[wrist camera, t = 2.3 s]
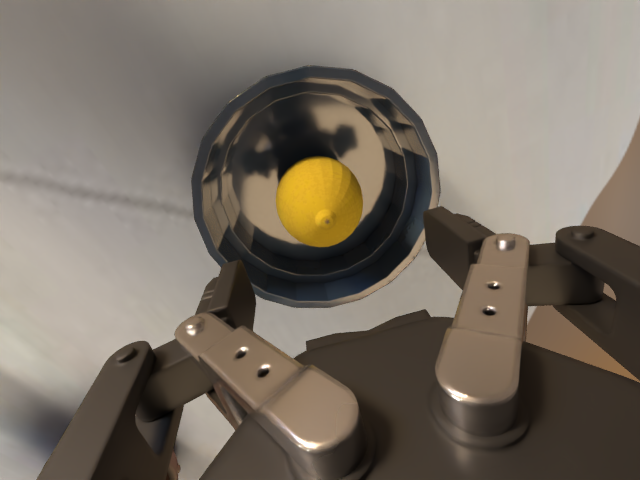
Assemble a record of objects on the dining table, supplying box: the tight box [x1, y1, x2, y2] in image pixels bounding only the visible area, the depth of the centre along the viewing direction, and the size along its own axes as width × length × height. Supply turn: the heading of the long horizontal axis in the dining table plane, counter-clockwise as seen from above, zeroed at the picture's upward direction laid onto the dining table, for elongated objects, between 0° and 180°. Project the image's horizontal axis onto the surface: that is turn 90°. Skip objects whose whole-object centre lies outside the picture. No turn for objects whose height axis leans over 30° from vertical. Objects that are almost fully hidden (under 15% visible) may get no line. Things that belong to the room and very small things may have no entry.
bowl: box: [191, 65, 440, 308], centre depth 23 cm, size 15×15×6 cm
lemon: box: [276, 156, 363, 247], centre depth 21 cm, size 6×6×8 cm
